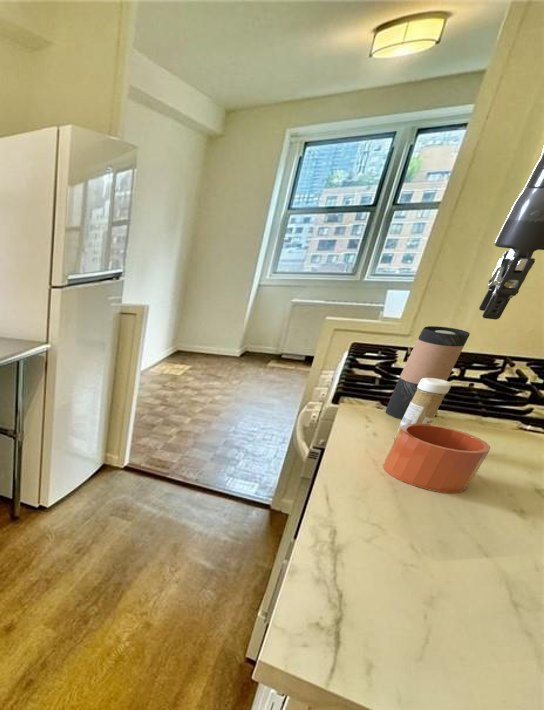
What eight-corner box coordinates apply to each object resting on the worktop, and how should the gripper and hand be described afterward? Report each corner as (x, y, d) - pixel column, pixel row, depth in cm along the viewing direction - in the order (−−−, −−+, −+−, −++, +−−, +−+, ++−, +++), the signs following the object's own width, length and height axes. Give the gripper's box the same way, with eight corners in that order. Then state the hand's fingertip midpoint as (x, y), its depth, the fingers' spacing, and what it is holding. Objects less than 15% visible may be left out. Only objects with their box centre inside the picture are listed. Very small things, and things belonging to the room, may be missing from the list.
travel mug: (435, 422, 110) (481, 334, 100) (402, 422, 110) (445, 335, 100) (406, 408, 116) (447, 325, 107) (375, 408, 116) (413, 326, 107)
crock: (421, 458, 95) (440, 422, 91) (485, 490, 85) (510, 451, 81) (367, 462, 94) (384, 425, 90) (425, 494, 84) (447, 454, 80)
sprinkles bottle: (424, 447, 99) (457, 386, 93) (396, 443, 100) (427, 382, 94) (415, 438, 103) (446, 378, 96) (388, 434, 104) (417, 375, 98)
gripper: (581, 220, 75) (521, 325, 83) (564, 216, 84) (512, 311, 92) (512, 218, 79) (461, 318, 87) (503, 215, 89) (458, 305, 96)
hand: (487, 314), depth 89 cm, fingers open, 8 cm apart
